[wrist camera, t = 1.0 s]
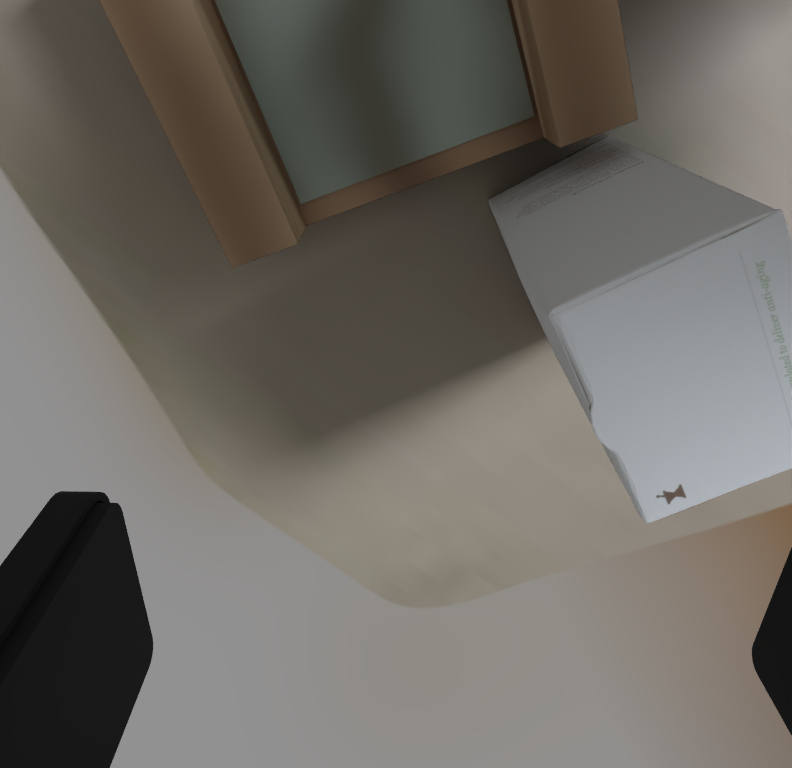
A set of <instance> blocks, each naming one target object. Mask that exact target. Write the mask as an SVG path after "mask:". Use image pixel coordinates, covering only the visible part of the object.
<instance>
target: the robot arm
mask: <svg viewBox="0 0 792 768" xmlns="http://www.w3.org/2000/svg"><path fill="white" fill-rule="evenodd" d="M152 652H153V638H152V634H151V629H150V625H149V621H148V617H147V612H146V608H145V604H144V600H143V596H142V592H141V587H140V583H139V579H138V575H137V571H136V567H135V563H134V558H133V554H132V550H131V546H130V541H129V537H128V533H127V529H126V525H125V521H124V516H123V512H122V509H121V507H120V505H119V504H117V503H110V501H109V499H108V497H107V496H106V494H105V493H102V492H63V491H62V492H58V493H56V494H55V495H54V496H53V497H52V498H51V499H50V500H49V502H48V503H47V504H46V505H45V507H44V508H43V510H42V511H41V512H40V514H39V515H38V516H37V517H36V519H35V520H34V522H33V523H32V525H31V526H30V527H29V528H28V530H27V531H26V532H25V534H24V535H23V536H22V538H21V539H20V541H19V542H18V543H17V544H16V546H15V547H14V548H13V550H12V551H11V552H10V554H9V555H8V556H7V558H6V559H5V560H4V562H3V563H2V564H1V566H0V768H110V765H111V763H112V760H113V758H114V755H115V753H116V750H117V748H118V745H119V742H120V740H121V737H122V735H123V732H124V729H125V727H126V725H127V722H128V720H129V717H130V714H131V712H132V709H133V707H134V704H135V702H136V699H137V697H138V694H139V692H140V689H141V687H142V684H143V681H144V679H145V676H146V674H147V671H148V669H149V666H150V663H151V658H152ZM752 659H753V664H754V667H755V670H756V672H757V674H758V676H759V678H760V680H761V681H762V683H763V685H764V687H765V689H766V691H767V692H768V694H769V696H770V698H771V699H772V701H773V703H774V705H775V706H776V708H777V710H778V712H779V714H780V715H781V717H782V719H783V721H784V722H785V724H786V726H787V728H788V730H789V731H790V733H791V735H792V548H791V551H790V553H789V556H788V558H787V561H786V563H785V566H784V568H783V571H782V573H781V576H780V578H779V581H778V583H777V586H776V589H775V591H774V593H773V596H772V598H771V601H770V603H769V606H768V608H767V611H766V613H765V616H764V618H763V621H762V623H761V626H760V628H759V631H758V633H757V636H756V639H755V641H754V643H753V647H752Z"/></svg>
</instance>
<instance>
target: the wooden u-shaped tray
mask: <svg viewBox="0 0 792 768" xmlns="http://www.w3.org/2000/svg"><path fill="white" fill-rule="evenodd" d="M99 1H100V3H101V5H102V7H103V9H104V11H105V13H106V15H107V17H108V19H109V21H110V23H111V25H112V27H113V29H114V31H115V33H116V35H117V37H118V39H119V41H120V43H121V45H122V47H123V49H124V51H125V53H126V55H127V57H128V59H129V61H130V63H131V65H132V67H133V69H134V71H135V73H136V75H137V77H138V79H139V81H140V83H141V85H142V88H143V90H144V92H145V94H146V96H147V98H148V100H149V102H150V104H151V106H152V108H153V110H154V112H155V114H156V116H157V118H158V120H159V122H160V124H161V126H162V128H163V130H164V132H165V134H166V136H167V138H168V140H169V142H170V144H171V146H172V148H173V150H174V152H175V154H176V156H177V158H178V160H179V162H180V164H181V166H182V168H183V170H184V172H185V174H186V176H187V178H188V180H189V182H190V184H191V186H192V188H193V190H194V192H195V194H196V196H197V198H198V200H199V202H200V205H201V207H202V209H203V211H204V213H205V215H206V217H207V219H208V221H209V223H210V225H211V227H212V229H213V231H214V233H215V235H216V237H217V239H218V241H219V243H220V245H221V247H222V249H223V251H224V253H225V255H226V257H227V259H228V261H229V263H230V265H231V267H232V268H234V267H237V266H239V265H242V264H245V263H247V262H250V261H253V260H256V259H258V258H261V257H264V256H267V255H269V254H272V253H275V252H277V251H280V250H283V249H286V248H288V247H291V246H294V245H297V244H298V243H299V241H300V238H301V236H302V234H303V232H304V230H305V227H306V226H307V225H309V224H312V223H315V222H318V221H320V220H323V219H326V218H328V217H331V216H334V215H336V214H339V213H342V212H345V211H347V210H350V209H353V208H355V207H358V206H361V205H363V204H366V203H369V202H372V201H374V200H377V199H380V198H382V197H385V196H388V195H390V194H393V193H396V192H399V191H401V190H404V189H407V188H409V187H412V186H415V185H417V184H420V183H423V182H426V181H428V180H431V179H434V178H436V177H439V176H442V175H444V174H447V173H450V172H453V171H455V170H458V169H461V168H463V167H466V166H469V165H471V164H474V163H477V162H480V161H482V160H485V159H488V158H490V157H493V156H496V155H498V154H501V153H504V152H507V151H509V150H512V149H515V148H517V147H520V146H523V145H525V144H528V143H531V142H534V141H536V140H539V139H542V138H545V139H547V140H549V141H550V142H552V143H553V144H555V145H557V146H558V147H560V148H561V147H564V146H567V145H569V144H572V143H575V142H578V141H580V140H583V139H586V138H589V137H591V136H594V135H597V134H599V133H602V132H605V131H608V130H610V129H613V128H616V127H619V126H621V125H624V124H627V123H630V122H632V121H635V120H638V116H637V110H636V104H635V98H634V93H633V87H632V81H631V75H630V69H629V63H628V58H627V52H626V46H625V40H624V34H623V29H622V23H621V17H620V11H619V5H618V0H99Z"/></svg>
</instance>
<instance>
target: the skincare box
mask: <svg viewBox="0 0 792 768" xmlns="http://www.w3.org/2000/svg"><path fill="white" fill-rule="evenodd" d="M489 205H490V208H491V210H492V213H493V215H494V218H495V220H496V222H497V225H498V227H499V230H500V232H501V235H502V237H503V240H504V242H505V244H506V247H507V249H508V252H509V254H510V256H511V259H512V261H513V264H514V266H515V269H516V271H517V274H518V276H519V278H520V281H521V283H522V285H523V287H524V290H525V292H526V294H527V296H528V298H529V300H530V303H531V305H532V307H533V309H534V311H535V314H536V316H537V318H538V320H539V322H540V324H541V326H542V329H543V331H544V333H545V335H546V337H547V339H548V341H549V343H550V345H551V347H552V349H553V351H554V353H555V355H556V357H557V359H558V361H559V363H560V365H561V367H562V369H563V370H564V372H565V374H566V376H567V378H568V380H569V382H570V384H571V386H572V388H573V390H574V392H575V394H576V396H577V398H578V399H579V401H580V403H581V405H582V407H583V409H584V411H585V413H586V415H587V417H588V419H589V421H590V423H591V425H592V427H593V430H594V432H595V434H596V436H597V437H598V439H599V440H600V442H601V444H602V445H603V447H604V449H605V451H606V453H607V455H608V457H609V459H610V461H611V462H612V464H613V466H614V468H615V470H616V472H617V474H618V476H619V477H620V479H621V481H622V483H623V485H624V487H625V488H626V490H627V492H628V494H629V496H630V497H631V499H632V502H633V504H634V506H635V508H636V510H637V512H638V514H639V515H640V517H641V518H642V519H643V520H644V522H645V523H650V522H653V521H656V520H658V519H661V518H663V517H666V516H669V515H671V514H674V513H676V512H679V511H681V510H684V509H687V508H689V507H692V506H694V505H697V504H699V503H702V502H704V501H707V500H709V499H712V498H715V497H717V496H720V495H722V494H725V493H727V492H730V491H732V490H735V489H737V488H740V487H743V486H745V485H748V484H751V483H753V482H756V481H759V480H761V479H764V478H767V477H769V476H772V475H775V474H777V473H780V472H783V471H785V470H788V469H791V468H792V243H791V239H790V235H789V232H788V228H787V225H786V221H785V217H784V214H783V211H782V210H781V209H773V208H771V207H769V206H767V205H764V204H762V203H760V202H758V201H755V200H753V199H751V198H748V197H746V196H744V195H741V194H739V193H737V192H734V191H732V190H730V189H728V188H726V187H724V186H720V185H718V184H716V183H714V182H712V181H709V180H707V179H705V178H703V177H700V176H698V175H696V174H693V173H691V172H689V171H687V170H684V169H683V168H680V167H678V166H675V165H673V164H671V163H668V162H666V161H664V160H662V159H659V158H657V157H655V156H653V155H650V154H648V153H646V152H644V151H641V150H639V149H637V148H634V147H632V146H630V145H627V144H625V143H623V142H621V141H619V140H616V139H614V138H612V137H607V138H605V139H603V140H600V141H598V142H596V143H594V144H592V145H590V146H589V147H587V148H585V149H583V150H581V151H579V152H577V153H575V154H574V155H572V156H570V157H568V158H566V159H564V160H562V161H560V162H558V163H556V164H555V165H553V166H551V167H549V168H547V169H545V170H543V171H541V172H539V173H537V174H536V175H534V176H532V177H530V178H528V179H526V180H524V181H523V182H521V183H519V184H517V185H515V186H513V187H511V188H510V189H508V190H506V191H504V192H502V193H500V194H498V195H496V196H494V197H492V198H490V199H489Z"/></svg>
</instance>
